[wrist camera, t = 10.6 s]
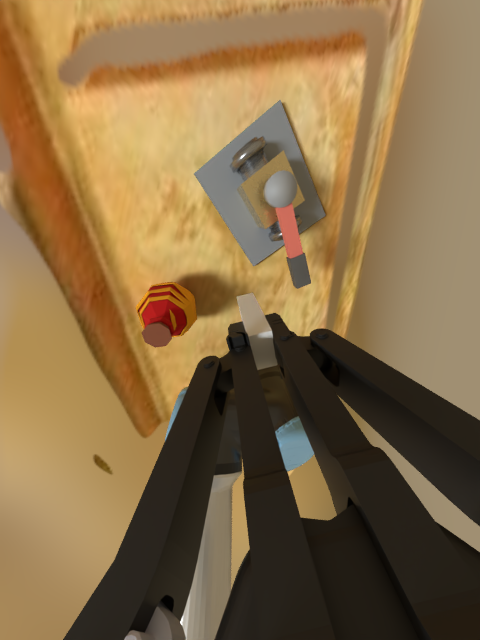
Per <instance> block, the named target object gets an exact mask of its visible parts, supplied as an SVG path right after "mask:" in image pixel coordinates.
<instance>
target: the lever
mask: <svg viewBox="0 0 480 640" xmlns="http://www.w3.org/2000/svg"><path fill="white" fill-rule="evenodd" d="M263 193H264V198H265V201H266V202H267V204H268V205H269V206H271V207H273V208H275V209H276V213H277V217H278V221H279V224H280V228H281V232H282V236H283V240H284V244H285V248H286V252H287V256H288V257H287V262H288V266H289V270H290V274H291V277H292V281H293V285H294V286H295V287H296V288H297V289H298V288H300V287H303V286H305V285H308V284H310V283H311V280H310V275H309V271H308V266H307V261H306V256H305V253H303V251H302V246H301V242H300V237H299V233H298V228H297V223H296V219H295V214H294V210H293V205H292V201H293V200H294V198H295V196H296V193H297V181H296V179H295V177H294V175H293V174H292V173H290V172H288V171H285V170H282V171H278V172H276V173H275V174H273V175H272V176H271V177H269V178H268V180H267V181H266V183H265V186H264V191H263Z"/></svg>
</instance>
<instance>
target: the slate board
mask: <svg viewBox="0 0 480 640" xmlns="http://www.w3.org/2000/svg"><path fill="white" fill-rule="evenodd" d="M262 136H264V138H265V140H266V143H267V145H266V146H265V148H264V149H263V151H264V153H265V155H266V157H267V159H268V161H271V160H272V159H273V158H274V157H276V156H277V155H278V154H279V153H281V152H282V151H283V150H284V152H285V155H286V157H287V159H288V162H289V164H290V166H291V169H292V171H293V173H294V176H295V178H296V180H297V183H298V185H299V187H300V190H301V192H302V194H303V197H304V199H305V201H303V202H302V203H301V204H299V205H298V206H297V207H295V208H294V209H293V210H294V214H295V216H296V215H300V217H301V219H302V223H301V225H300V226H299V228H298V233H299V234H300V233H302V232H303V231H304V230H306V229H307V228H309V227H310V226H311V225H313V224H314V223H316V222H317V221H319V220H320V219H321V218H323V217H324V216H326V215H325V212H324V210H323V207H322V205H321V202H320V200H319V197H318V195H317V192H316V189H315V187H314V184H313V182H312V179H311V177H310V174H309V172H308V169H307V167H306V164H305V162H304V159H303V156H302V154H301V151H300V149H299V146H298V144H297V141H296V139H295V136H294V134H293V131H292V129H291V126H290V124H289V121H288V118H287V116H286V113H285V111H284V108H283V106H282V103H281V101H280V100H279V101H278V102H277V103H276V104H274V105H273V106H272V107H271V108H270V109H269V110H267V111H266V112H265V113H264V114H263V115H262V116H260V117H259V118H258V119H257V120H256V121H255V122H253V123H252V124H251V125H250V126H249V127H248V128H247V129H245V130H244V131H243V132H242V133H241V134H240V135H238V136H237V137H236V138H235V139H234V140H233V141H231V142H230V143H229V144H228V145H227V146H226V147H224V148H223V149H222V150H221V151H220V152H219V153H217V154H216V155H215V156H214V157H213V158H212V159H210V160H209V161H208V162H207V163H206V164H205V165H203V166H202V167H201V168H200V169H199V170H198V171H196V172H195V173H194V175H195V176H196V178H197V179H198V181H199V182H200V184H201V186H202V187H203V189H204V190H205V192H206V193H207V195H208V196H209V198H210V200H211V201H212V203H213V204H214V206H215V207H216V209H217V210H218V212H219V214H220V215H221V217H222V218H223V220H224V221H225V223H226V224H227V226H228V228H229V229H230V231H231V232H232V234H233V235H234V237H235V238H236V240H237V242H238V243H239V245H240V246H241V248H242V249H243V251H244V252H245V254H246V256H247V257H248V259H249V260H250V262H251V263H252V265H253V266H255V265H256V264H258V263H259V262H260V261H262V260H263V259H265V258H266V257H268V256H269V255H270V254H272V253H273V252H275V251H276V250H277V249H279V248H280V247H282V246H283V245H285V244H284V240H281V241H271V240H270V238H269V236H268V235H269V233H270V232H271V230H270V228H269V227H268V228H267V229H263V228H259V227H258V226H257V224H256V222H255V221H254V219H253V217H252V215H251V214H250V212H249V210H248V208H247V207H246V205H245V203H244V201H243V200H242V198H241V196H240V194H239V193H238V191H237V188H238V187H239V186H240V185H241V184H242V183H243V182H244V180H243V178H242V177H241V175H240V173H239V171H236V172H235V173H233V172H232V170H231V168H230V164H231V163H232V162H233V160H232V158H233V156H234V155H235V154H236V153H237V152H238V151H239V150H240V149H241V148H242V147H243V146H244V145H245V144H246V143H248V142H249V141H250V140H252V139H253V138H255V137H257V138H258V139H259V138H260V137H262Z"/></svg>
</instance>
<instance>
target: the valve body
mask: <svg viewBox="0 0 480 640" xmlns="http://www.w3.org/2000/svg"><path fill="white" fill-rule="evenodd" d="M266 145H267V143H266V140H265V138H264V136H262V137H260V138H259V139H258V138H257V137H255V138H253V139H252V140H250V141H249V142H248V143H246V144H245V145H244V146H243V147H242V148H241V149H240V150H239V151H238V152H237V153H236V154H235V155H234V156H233V158H232V160H233V162H232V163H231V164H230V168H231V170H232V172H233V173H235V172H236V171H239V173H240V175H241V177H242V178H243V180H244V182H243V183H242V184H241V185H240V186H239V187H238V188H237V191H238V193H239V194H240V196H241V198H242V200H243V201H244V203H245V205H246V207H247V208H248V210H249V212H250V214H251V215H252V217H253V219H254V221H255V222H256V224H257V226H258V227H259V228H263V229H267V228H268V227H269V228H270V230H271V232H270V233H269V235H268V236H269V238H270V240H271V241H281V240H283V236H282V232H281V228H280V224H279V221H278V217H277V213H276V209H275V208H273V207H271V206H269V205H268V204H267V202H266V201H265V198H264V193H263V191H264V186H265V183H266V181H267V180H268V178H269V177H271V176H272V175H273V174H275V173H276V172H278V171H282V170H285V171H288V172H290V173H292V174H293V175H294V173H293V171H292V169H291V166H290V164H289V162H288V159H287V157H286V155H285V152H284V150H283V151H282V152H281V153H279V154H278V155H277V156H276V157H274V158H273V159H272V160H271V161H268V159H267V157H266V155H265V153H264V151H263V149H264V148H265V146H266ZM294 177H295V176H294ZM295 179H296V178H295ZM296 181H297V180H296ZM303 201H305V199H304V197H303V194H302V192H301V190H300V187H299V185H298V183H297V193H296V196H295V198H294V200H293V201H292V205H293V209H294V208H295V207H297V206H298V205H299V204H301V203H302V202H303ZM295 219H296V223H297V228H299V226H300V225H301V223H302V219H301V217H300V215H296V216H295Z"/></svg>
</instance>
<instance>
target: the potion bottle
mask: <svg viewBox="0 0 480 640" xmlns="http://www.w3.org/2000/svg"><path fill="white" fill-rule="evenodd" d="M165 284H166V285H165ZM156 285H158V286H156ZM136 310H137V313H138V316H139V319H140V322H141V325H142V327H143V328H144V330H143V332H142V335H143V338H144V341H145V342H146V343H148V344H150V345H152V346H153V347H162V346H166V345H167V344H168V343H169V342H170V340H171V339H172V337H177V336H182V335H184V333H185V332H187V331H188V330H189V328H190V327H191V326H192V325H193V323H194V322H195V321H196V320H197V315H196V306H195V297H194V296H193V295H192V294H191V292H190V291H188V290H187V289H185V288H184V287H182V286H180V285H179V284H177V283H175V282H167V283H161V284H155V285H152V286H151V287H150V289H149V290H148V292H147V293H146V294H145V295H144V297H143V298H142V299H141V301H140V302H139V303H138V305H137V306H136Z"/></svg>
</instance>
